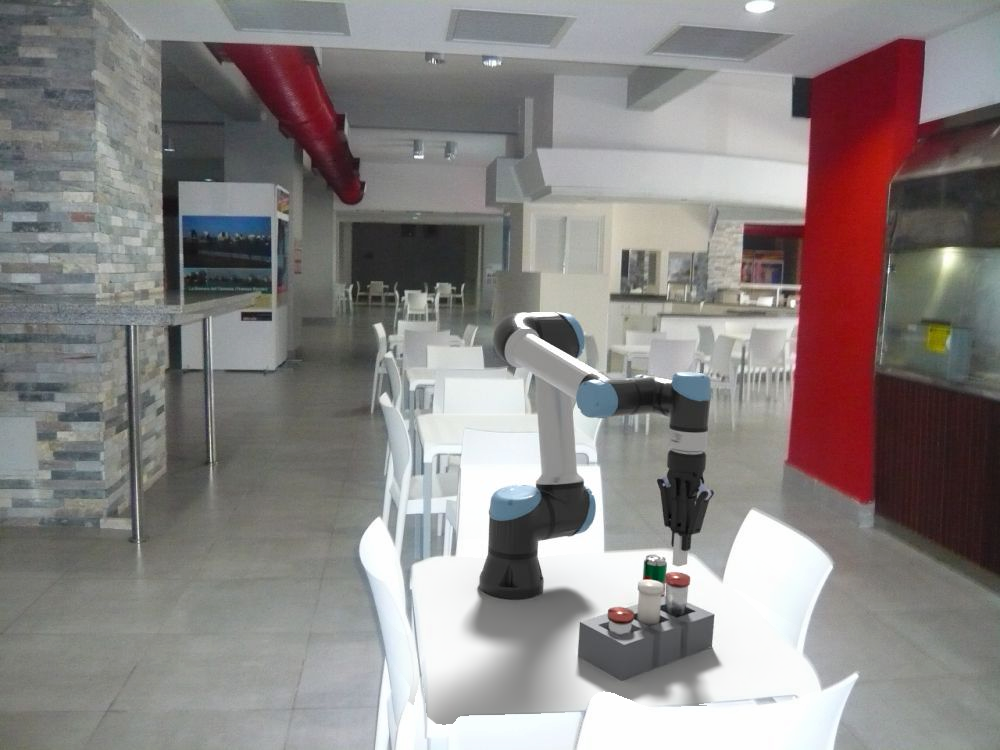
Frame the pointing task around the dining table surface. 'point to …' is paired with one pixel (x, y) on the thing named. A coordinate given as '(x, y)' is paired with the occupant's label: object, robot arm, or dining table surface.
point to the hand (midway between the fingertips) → (679, 564)
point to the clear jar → (676, 593)
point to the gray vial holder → (645, 641)
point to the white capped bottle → (649, 602)
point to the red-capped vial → (620, 620)
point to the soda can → (655, 569)
